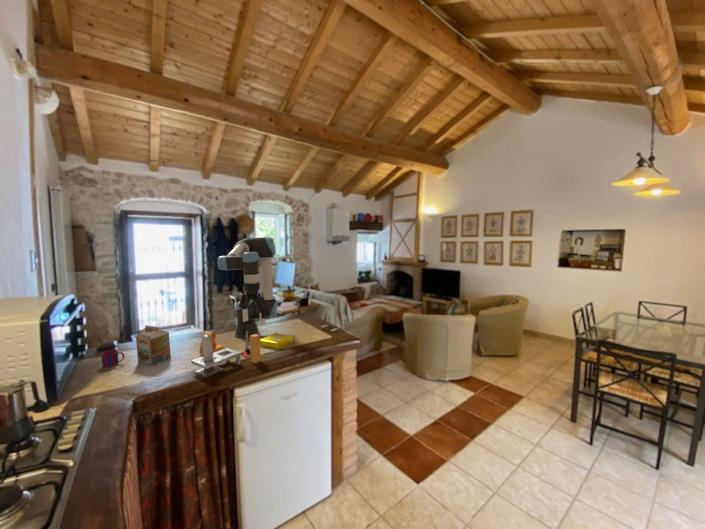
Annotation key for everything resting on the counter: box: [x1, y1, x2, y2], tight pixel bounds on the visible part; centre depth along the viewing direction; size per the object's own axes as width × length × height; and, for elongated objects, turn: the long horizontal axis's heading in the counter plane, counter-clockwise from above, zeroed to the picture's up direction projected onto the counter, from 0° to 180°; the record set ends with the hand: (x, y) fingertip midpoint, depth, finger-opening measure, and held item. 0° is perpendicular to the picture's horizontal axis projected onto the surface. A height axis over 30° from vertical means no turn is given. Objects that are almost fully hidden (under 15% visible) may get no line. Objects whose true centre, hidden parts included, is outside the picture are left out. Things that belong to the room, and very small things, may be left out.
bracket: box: [199, 330, 224, 355], centre depth 172 cm, size 11×7×12 cm, turn 164°
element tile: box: [260, 332, 294, 350], centre depth 184 cm, size 15×15×5 cm
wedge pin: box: [249, 333, 262, 364], centre depth 158 cm, size 4×4×14 cm
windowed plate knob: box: [191, 334, 242, 378], centre depth 150 cm, size 19×12×18 cm, turn 146°
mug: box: [100, 349, 125, 369], centre depth 157 cm, size 7×10×7 cm
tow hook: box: [241, 331, 251, 359], centre depth 167 cm, size 8×13×9 cm
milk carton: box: [135, 324, 172, 367], centre depth 161 cm, size 11×11×19 cm
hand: (253, 323), depth 156 cm, fingers open, 13 cm apart
